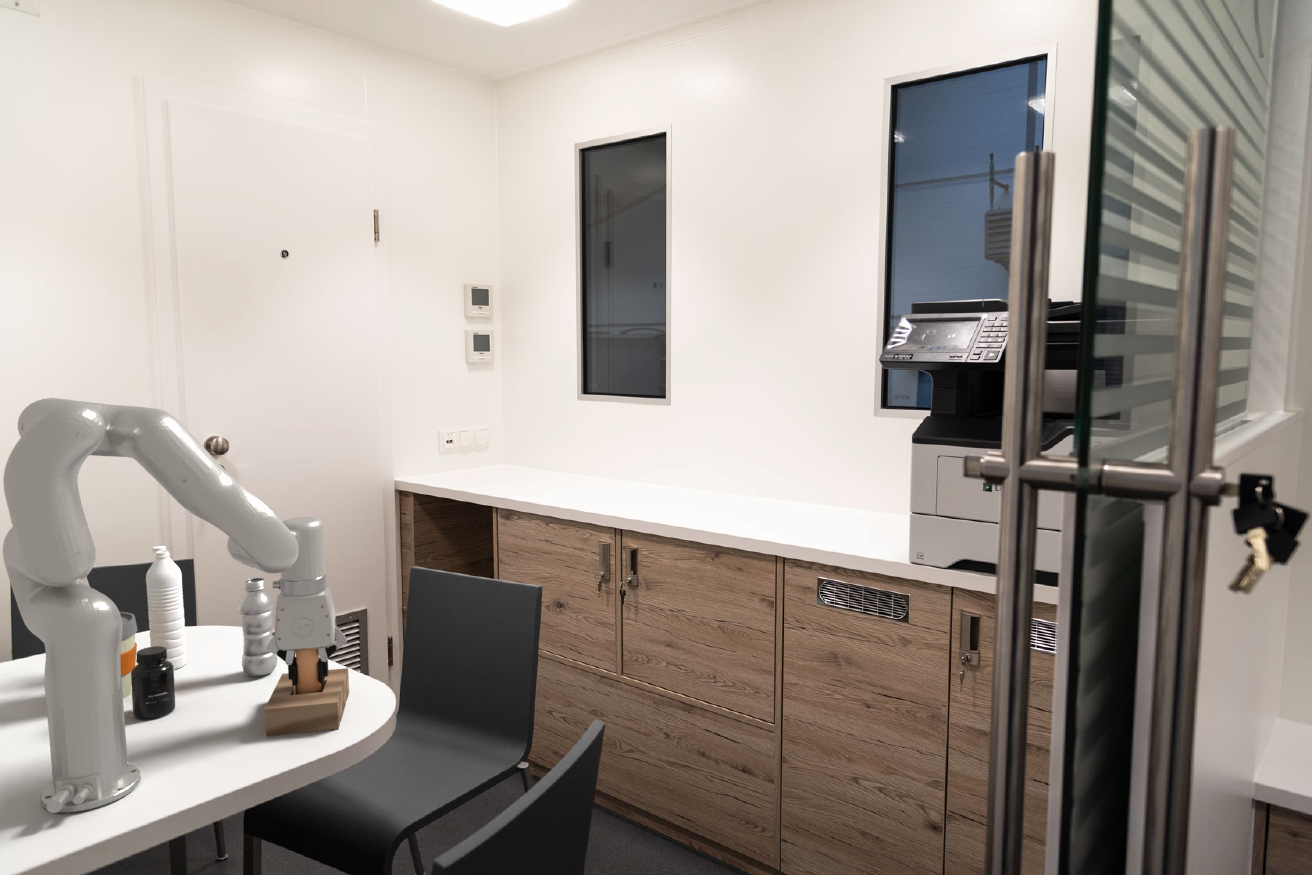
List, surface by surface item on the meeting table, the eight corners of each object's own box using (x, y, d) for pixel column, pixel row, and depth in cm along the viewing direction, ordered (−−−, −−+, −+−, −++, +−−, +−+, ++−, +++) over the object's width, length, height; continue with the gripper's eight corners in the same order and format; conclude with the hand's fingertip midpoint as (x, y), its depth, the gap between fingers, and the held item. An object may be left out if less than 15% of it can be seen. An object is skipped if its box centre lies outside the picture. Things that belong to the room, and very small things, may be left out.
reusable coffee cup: (56, 697, 161) (50, 622, 160) (130, 678, 170) (125, 607, 169) (73, 717, 153) (67, 638, 151) (150, 695, 162) (145, 621, 160)
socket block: (338, 729, 148) (337, 702, 148) (265, 736, 146) (264, 709, 145) (349, 692, 164) (348, 668, 163) (283, 698, 161) (282, 673, 160)
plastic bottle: (284, 671, 174) (279, 578, 172) (254, 682, 168) (248, 586, 166) (266, 665, 177) (261, 573, 175) (235, 675, 172) (230, 581, 169)
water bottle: (189, 666, 176) (182, 551, 173) (154, 674, 172) (146, 556, 169) (182, 654, 183) (175, 543, 180) (148, 661, 179) (140, 548, 176)
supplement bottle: (156, 722, 151) (152, 658, 149) (124, 718, 152) (119, 655, 151) (184, 706, 157) (180, 645, 156) (153, 702, 159) (149, 642, 157)
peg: (319, 700, 153) (316, 637, 152) (296, 702, 152) (293, 639, 151) (323, 691, 157) (320, 630, 155) (300, 693, 156) (297, 632, 155)
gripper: (249, 594, 146) (255, 694, 148) (350, 588, 150) (354, 685, 152) (259, 582, 154) (264, 677, 156) (354, 576, 157) (358, 669, 160)
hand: (309, 680), depth 154 cm, fingers closed on peg, 4 cm apart
